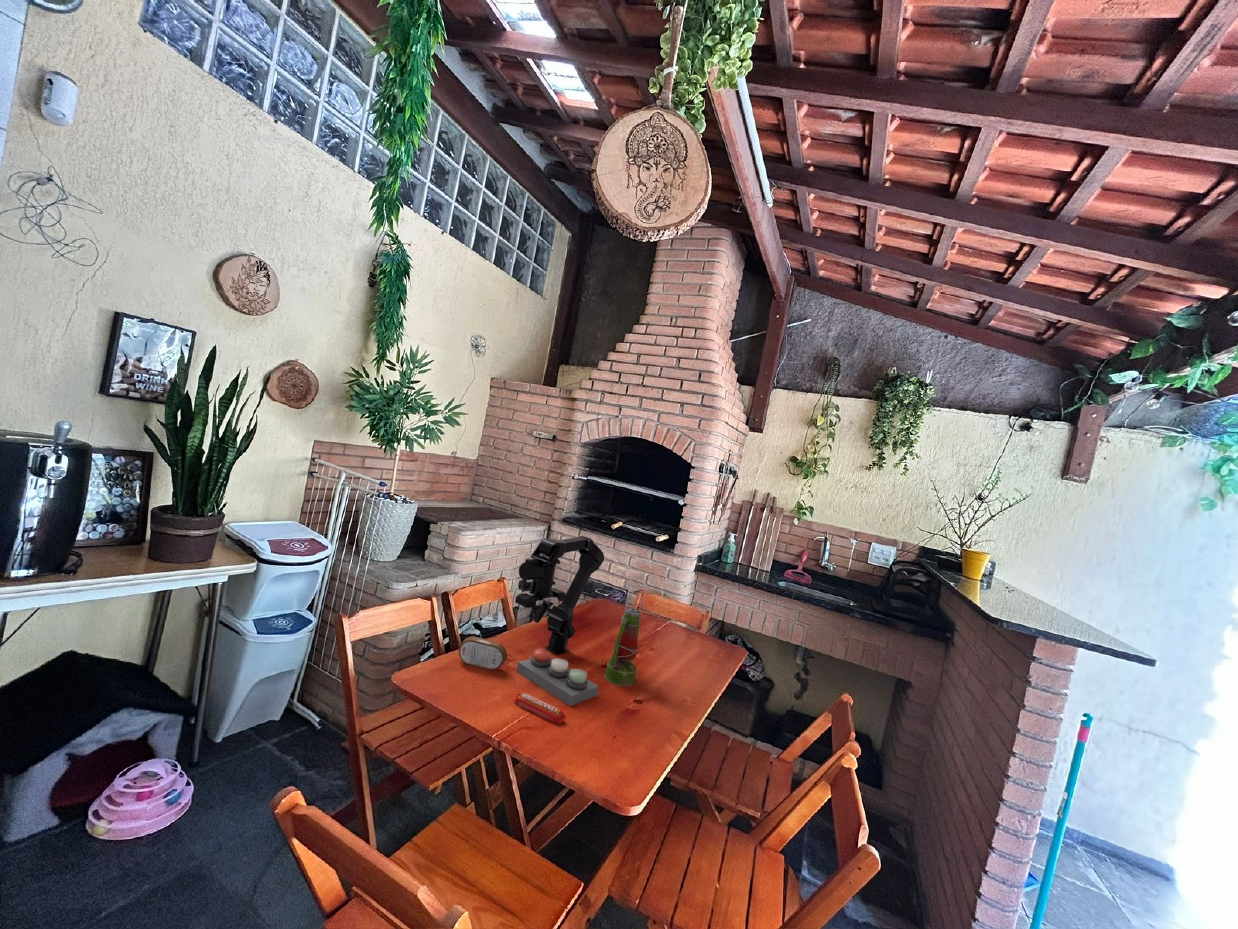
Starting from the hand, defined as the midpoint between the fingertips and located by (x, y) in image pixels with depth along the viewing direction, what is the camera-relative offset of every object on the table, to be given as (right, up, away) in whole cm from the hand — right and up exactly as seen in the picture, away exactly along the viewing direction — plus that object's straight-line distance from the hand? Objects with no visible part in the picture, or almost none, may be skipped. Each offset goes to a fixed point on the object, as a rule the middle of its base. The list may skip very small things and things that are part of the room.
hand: (536, 622), depth 175 cm
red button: (+3, -9, -8) cm, 13 cm away
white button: (+9, -10, -13) cm, 19 cm away
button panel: (+8, -15, -13) cm, 22 cm away
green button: (+15, -12, -18) cm, 26 cm away
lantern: (+28, -19, -1) cm, 33 cm away
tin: (-16, -10, -12) cm, 22 cm away
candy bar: (+5, -15, -32) cm, 36 cm away
